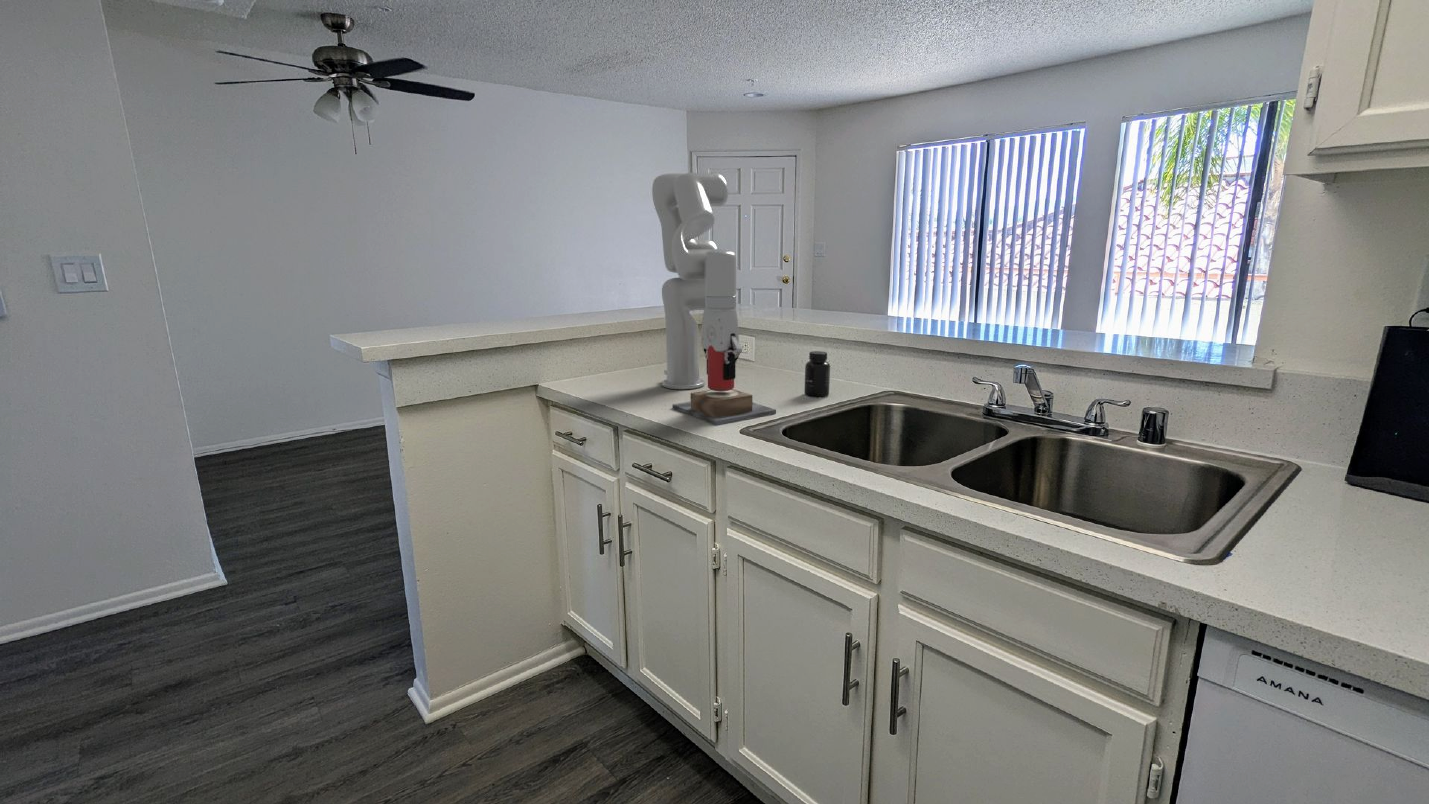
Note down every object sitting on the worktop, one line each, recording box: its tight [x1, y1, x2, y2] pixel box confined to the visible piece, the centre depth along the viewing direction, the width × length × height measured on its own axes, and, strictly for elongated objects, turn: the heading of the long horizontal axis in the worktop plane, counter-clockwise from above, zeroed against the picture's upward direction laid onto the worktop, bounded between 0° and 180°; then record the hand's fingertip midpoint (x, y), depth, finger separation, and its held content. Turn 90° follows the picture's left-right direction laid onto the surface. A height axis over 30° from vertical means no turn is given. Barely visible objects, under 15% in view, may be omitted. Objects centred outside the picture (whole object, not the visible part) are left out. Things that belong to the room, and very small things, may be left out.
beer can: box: [707, 346, 735, 391], centre depth 164 cm, size 7×7×12 cm
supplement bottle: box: [803, 350, 831, 399], centre depth 184 cm, size 7×7×12 cm
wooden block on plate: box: [671, 388, 777, 426], centre depth 169 cm, size 20×18×5 cm
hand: (720, 376), depth 165 cm, fingers closed on beer can, 6 cm apart
